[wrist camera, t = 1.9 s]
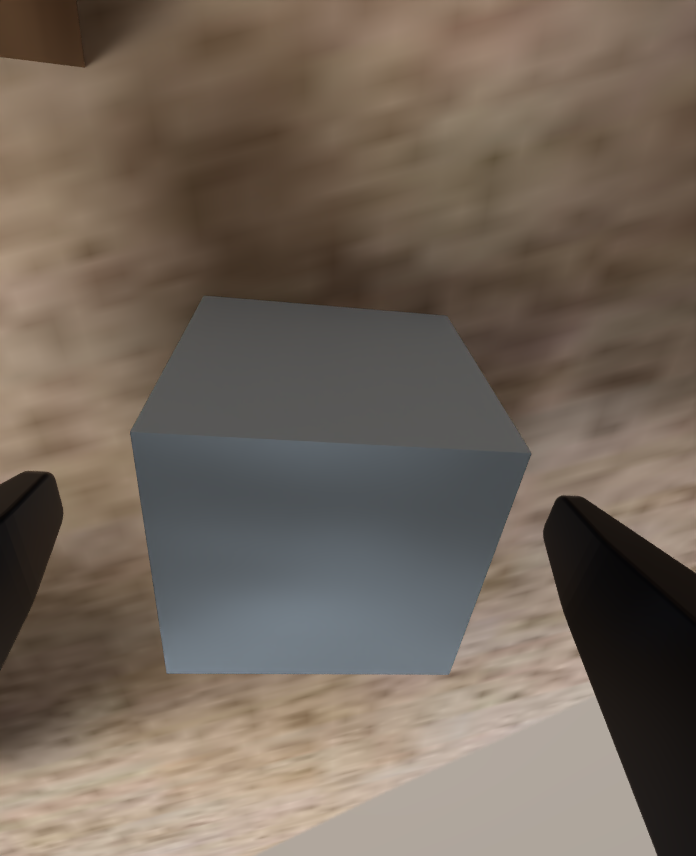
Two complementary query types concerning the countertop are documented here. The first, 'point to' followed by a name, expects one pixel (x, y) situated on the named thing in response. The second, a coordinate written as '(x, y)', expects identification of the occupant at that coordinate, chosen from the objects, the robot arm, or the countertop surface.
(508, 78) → the countertop surface
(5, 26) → the walnut slab
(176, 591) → the slate cube
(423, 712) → the countertop surface
